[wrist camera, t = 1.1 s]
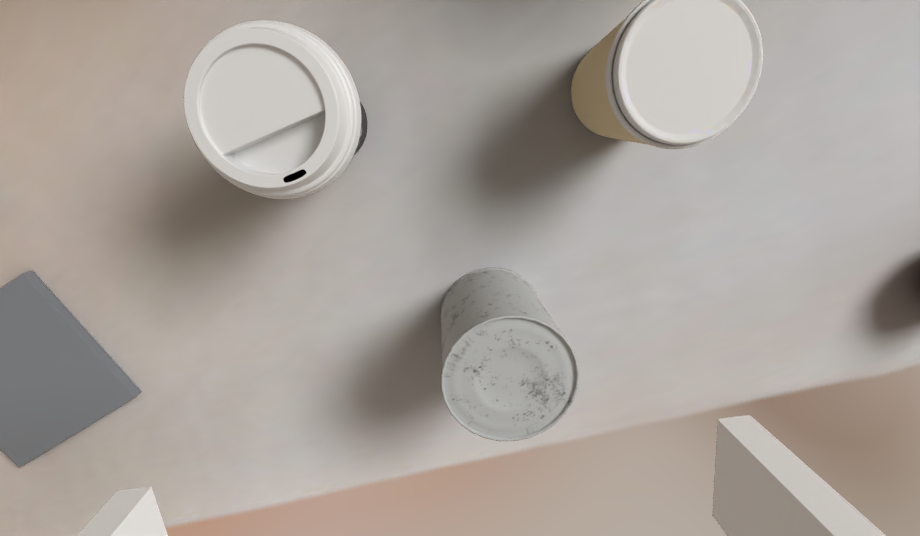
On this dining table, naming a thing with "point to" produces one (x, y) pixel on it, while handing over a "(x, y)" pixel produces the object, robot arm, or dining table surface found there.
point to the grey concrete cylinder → (503, 358)
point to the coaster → (50, 372)
